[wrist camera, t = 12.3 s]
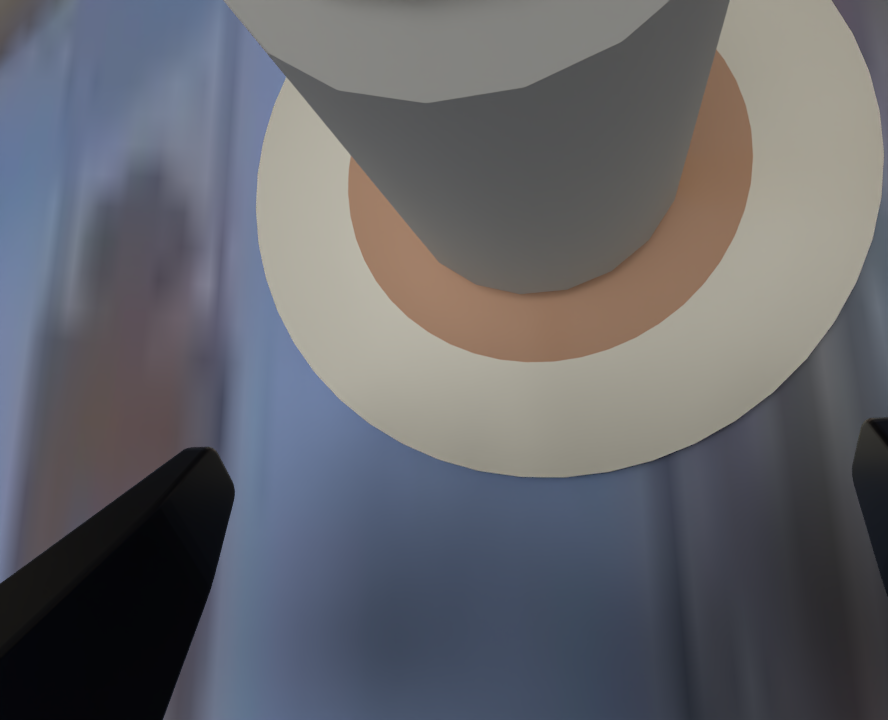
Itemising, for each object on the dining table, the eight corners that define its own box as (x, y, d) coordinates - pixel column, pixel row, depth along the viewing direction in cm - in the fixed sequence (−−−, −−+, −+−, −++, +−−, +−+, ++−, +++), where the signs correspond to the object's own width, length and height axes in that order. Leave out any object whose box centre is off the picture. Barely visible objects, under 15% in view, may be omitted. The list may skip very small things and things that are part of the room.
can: (642, 6, 18) (711, -775, 7) (715, 261, 17) (961, -173, 5) (385, 89, 20) (78, -437, 8) (432, 331, 18) (142, 108, 7)
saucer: (948, -52, 18) (966, -79, 17) (765, 573, 16) (774, 579, 16) (371, -119, 22) (362, -143, 21) (194, 370, 21) (177, 366, 20)
